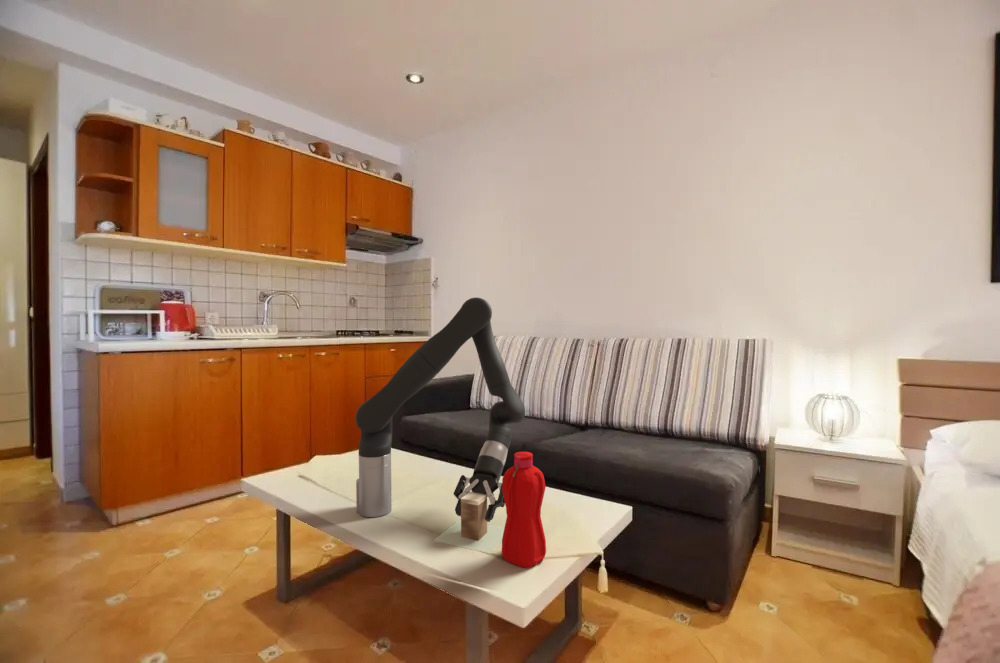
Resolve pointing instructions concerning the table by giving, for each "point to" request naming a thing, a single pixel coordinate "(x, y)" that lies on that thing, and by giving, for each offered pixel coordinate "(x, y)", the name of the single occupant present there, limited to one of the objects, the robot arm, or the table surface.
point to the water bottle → (523, 512)
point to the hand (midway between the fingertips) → (472, 517)
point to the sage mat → (483, 545)
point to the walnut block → (473, 516)
